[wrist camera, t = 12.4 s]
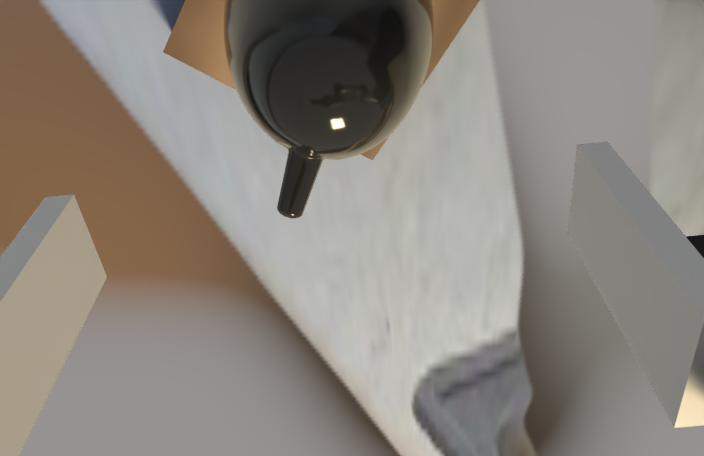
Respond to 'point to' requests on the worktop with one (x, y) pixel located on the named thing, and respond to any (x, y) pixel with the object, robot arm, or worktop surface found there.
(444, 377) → the worktop surface
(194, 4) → the walnut stand
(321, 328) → the worktop surface
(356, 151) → the glossy black egg shape
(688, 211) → the worktop surface
